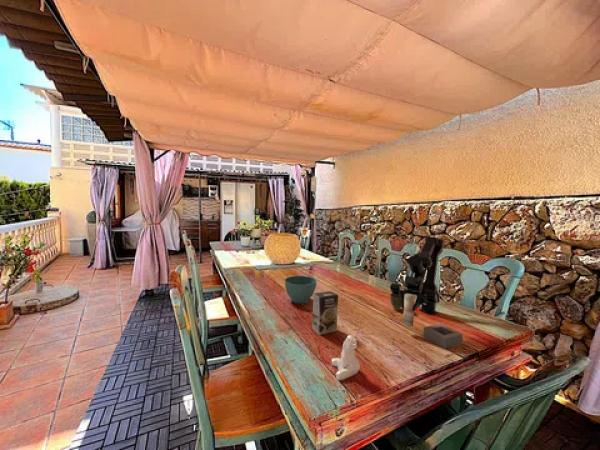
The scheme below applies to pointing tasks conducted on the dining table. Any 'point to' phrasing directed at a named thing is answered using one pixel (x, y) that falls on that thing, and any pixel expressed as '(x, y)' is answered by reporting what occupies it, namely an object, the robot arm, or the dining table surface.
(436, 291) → the robot arm
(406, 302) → the peg
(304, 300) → the plant pot
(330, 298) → the coffee box
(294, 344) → the dining table surface
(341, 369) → the sitting furry creature
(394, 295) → the cup
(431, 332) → the socket block
